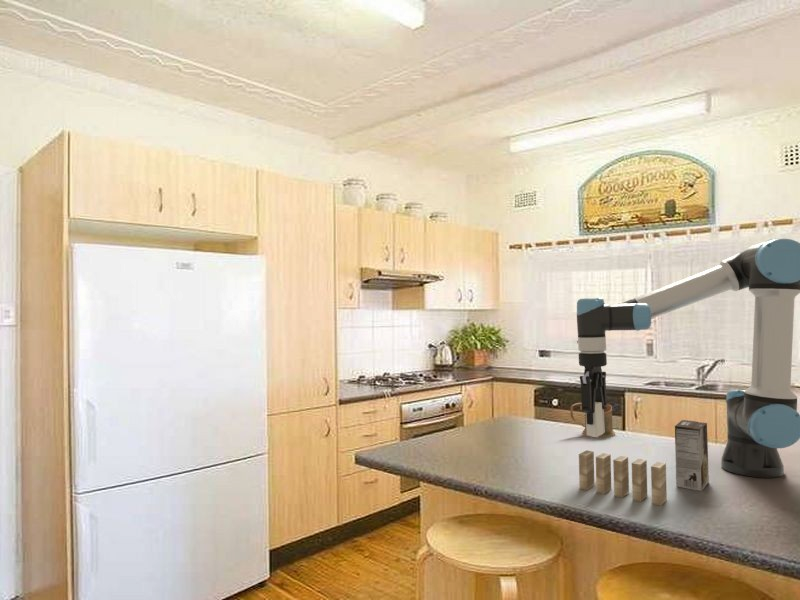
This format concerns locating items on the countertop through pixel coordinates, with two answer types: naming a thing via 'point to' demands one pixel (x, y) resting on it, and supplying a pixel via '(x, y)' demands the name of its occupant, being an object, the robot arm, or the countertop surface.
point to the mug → (607, 421)
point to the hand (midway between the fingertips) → (595, 433)
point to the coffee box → (691, 455)
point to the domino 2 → (599, 418)
